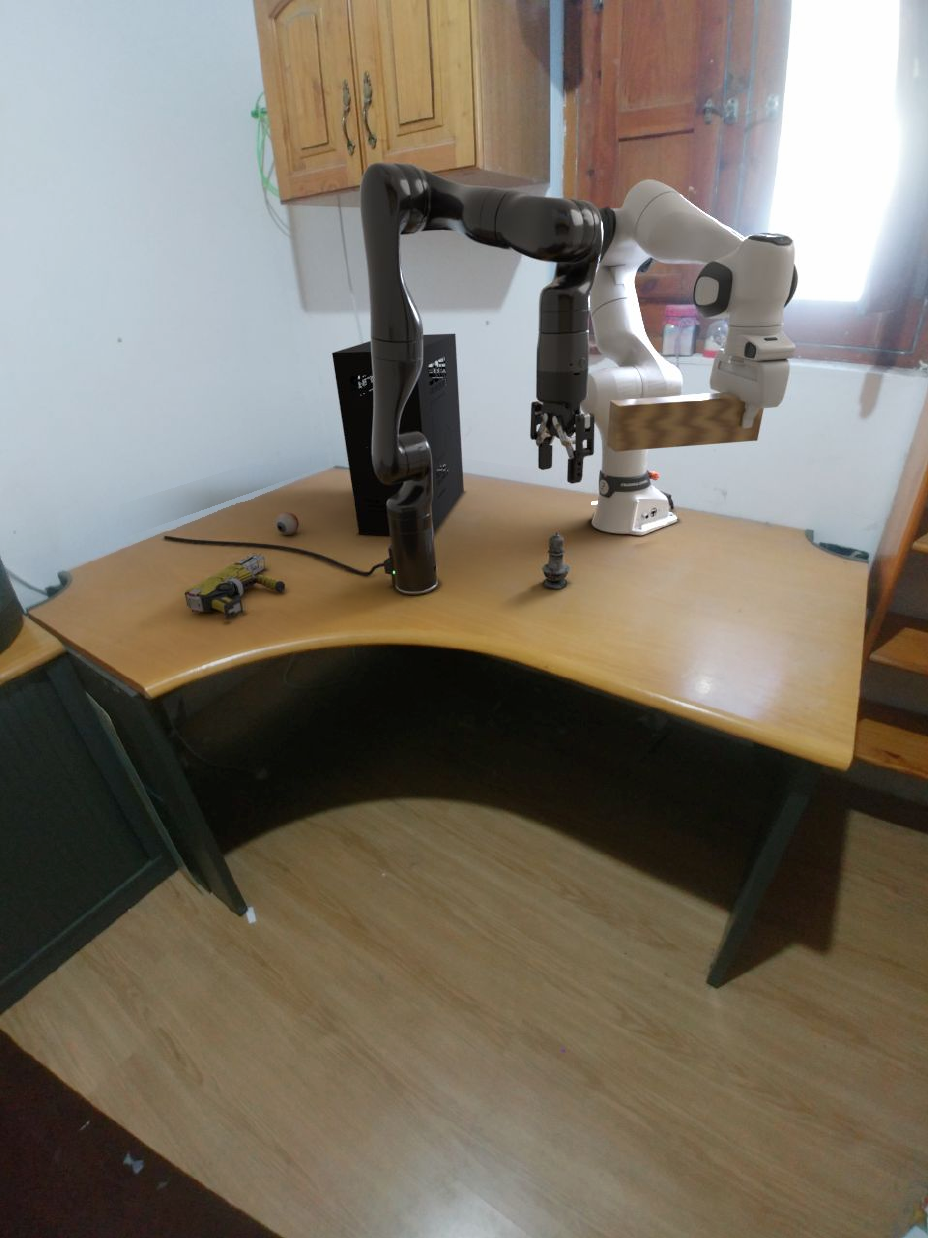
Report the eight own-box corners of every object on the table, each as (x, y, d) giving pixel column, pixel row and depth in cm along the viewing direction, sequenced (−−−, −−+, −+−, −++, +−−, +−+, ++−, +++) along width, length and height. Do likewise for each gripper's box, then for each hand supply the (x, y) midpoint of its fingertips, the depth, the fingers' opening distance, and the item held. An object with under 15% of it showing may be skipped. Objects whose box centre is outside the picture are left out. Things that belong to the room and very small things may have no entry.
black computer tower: (431, 537, 158) (415, 350, 135) (358, 534, 162) (332, 352, 140) (463, 491, 189) (455, 333, 167) (402, 489, 194) (386, 335, 171)
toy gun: (306, 561, 141) (251, 550, 144) (240, 606, 120) (179, 591, 124) (307, 580, 143) (253, 568, 147) (243, 626, 123) (183, 611, 127)
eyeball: (273, 537, 164) (268, 516, 161) (287, 528, 169) (282, 508, 166) (291, 539, 161) (286, 518, 158) (305, 530, 166) (301, 510, 163)
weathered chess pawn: (568, 589, 128) (570, 537, 122) (540, 588, 130) (541, 536, 124) (569, 577, 133) (571, 526, 127) (542, 576, 134) (543, 525, 128)
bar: (744, 434, 116) (753, 390, 112) (757, 440, 112) (766, 395, 108) (606, 444, 114) (610, 400, 110) (614, 451, 110) (618, 405, 106)
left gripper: (515, 363, 92) (516, 468, 100) (567, 373, 80) (563, 491, 89) (557, 358, 94) (555, 461, 102) (613, 367, 83) (606, 482, 91)
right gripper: (707, 337, 114) (696, 412, 121) (764, 350, 97) (748, 438, 104) (739, 335, 115) (726, 410, 122) (802, 348, 97) (783, 435, 104)
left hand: (559, 475), depth 96 cm, fingers open, 8 cm apart
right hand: (737, 423), depth 113 cm, fingers closed on bar, 5 cm apart
